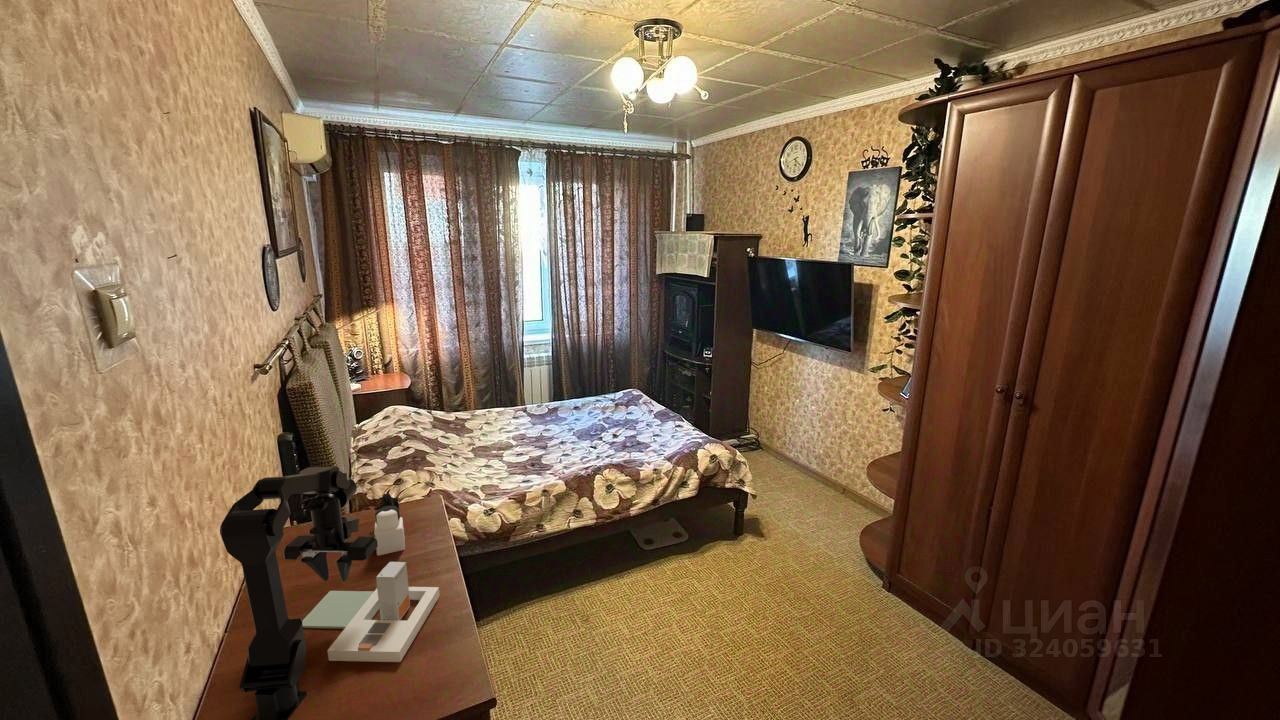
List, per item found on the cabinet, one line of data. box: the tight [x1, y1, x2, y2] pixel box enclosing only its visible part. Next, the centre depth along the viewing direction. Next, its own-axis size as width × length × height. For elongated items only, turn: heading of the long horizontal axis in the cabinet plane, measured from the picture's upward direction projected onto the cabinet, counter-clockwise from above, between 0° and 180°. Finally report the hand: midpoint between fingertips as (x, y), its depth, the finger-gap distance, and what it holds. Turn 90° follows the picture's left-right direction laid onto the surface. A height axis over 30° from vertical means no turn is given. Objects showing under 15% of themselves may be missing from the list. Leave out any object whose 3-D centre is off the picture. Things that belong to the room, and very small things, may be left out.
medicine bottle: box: [373, 506, 406, 556], centre depth 146 cm, size 7×7×12 cm
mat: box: [301, 590, 375, 630], centre depth 122 cm, size 12×12×1 cm
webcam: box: [374, 492, 402, 517], centre depth 158 cm, size 8×8×10 cm
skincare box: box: [375, 561, 411, 620], centre depth 119 cm, size 6×4×12 cm
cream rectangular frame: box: [327, 586, 440, 663], centre depth 117 cm, size 20×15×3 cm
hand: (335, 580), depth 120 cm, fingers open, 4 cm apart
